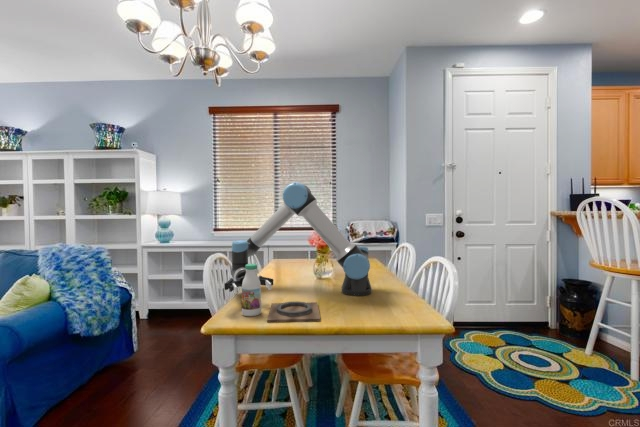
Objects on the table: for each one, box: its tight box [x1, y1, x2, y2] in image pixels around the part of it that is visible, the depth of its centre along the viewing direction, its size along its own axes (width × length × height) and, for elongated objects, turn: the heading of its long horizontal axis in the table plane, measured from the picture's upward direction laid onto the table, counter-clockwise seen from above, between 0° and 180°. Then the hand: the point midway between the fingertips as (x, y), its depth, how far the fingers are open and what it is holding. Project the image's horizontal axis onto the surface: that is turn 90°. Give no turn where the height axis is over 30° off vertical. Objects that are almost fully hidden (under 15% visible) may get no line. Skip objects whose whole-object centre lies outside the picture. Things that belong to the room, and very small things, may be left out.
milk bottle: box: [241, 263, 262, 317], centre depth 128 cm, size 8×8×20 cm
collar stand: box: [266, 300, 321, 323], centre depth 129 cm, size 20×20×2 cm
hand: (253, 288), depth 124 cm, fingers open, 13 cm apart
